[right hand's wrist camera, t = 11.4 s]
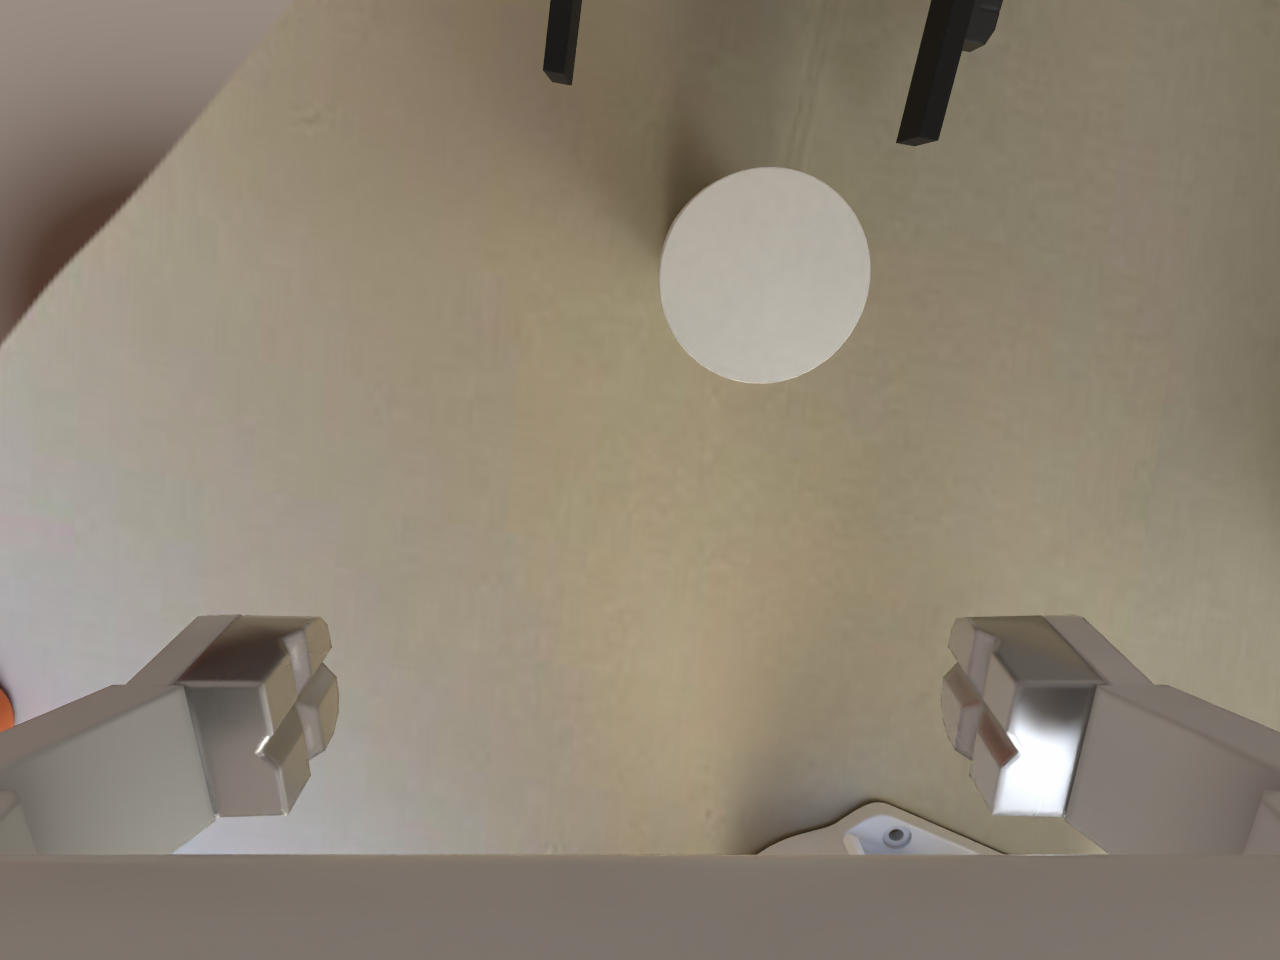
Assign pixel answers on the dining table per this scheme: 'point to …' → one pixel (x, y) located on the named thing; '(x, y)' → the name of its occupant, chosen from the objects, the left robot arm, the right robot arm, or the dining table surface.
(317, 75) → the dining table surface
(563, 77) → the left robot arm
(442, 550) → the dining table surface
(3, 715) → the cup with straw
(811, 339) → the lid
